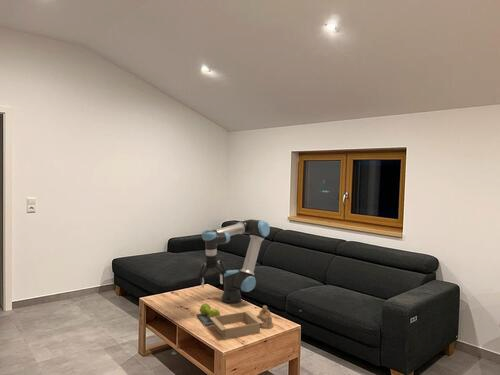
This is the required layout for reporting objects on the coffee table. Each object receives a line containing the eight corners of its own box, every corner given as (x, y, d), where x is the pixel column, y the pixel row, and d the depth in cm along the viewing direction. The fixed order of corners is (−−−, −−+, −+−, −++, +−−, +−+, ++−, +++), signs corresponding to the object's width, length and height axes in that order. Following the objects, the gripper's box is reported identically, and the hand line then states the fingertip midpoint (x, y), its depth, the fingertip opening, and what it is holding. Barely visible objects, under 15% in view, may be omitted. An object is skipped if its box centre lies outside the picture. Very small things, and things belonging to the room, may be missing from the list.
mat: (213, 313, 271) (213, 311, 271) (223, 323, 254) (223, 321, 254) (196, 316, 266) (196, 314, 266) (205, 326, 249) (205, 324, 249)
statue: (276, 305, 257) (273, 306, 248) (274, 328, 254) (272, 329, 244) (258, 304, 260) (254, 304, 251) (256, 326, 257) (253, 327, 247)
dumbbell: (198, 315, 264) (198, 304, 264) (209, 312, 269) (209, 302, 269) (210, 322, 251) (210, 311, 251) (221, 320, 255) (221, 309, 255)
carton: (248, 319, 260) (248, 311, 260) (263, 332, 240) (263, 322, 240) (209, 326, 248) (209, 317, 248) (221, 340, 229) (221, 330, 229)
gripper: (225, 251, 274) (226, 281, 275) (191, 256, 263) (193, 286, 264) (230, 253, 267) (231, 283, 269) (195, 258, 256) (196, 290, 257)
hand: (212, 285), depth 266 cm, fingers open, 13 cm apart
